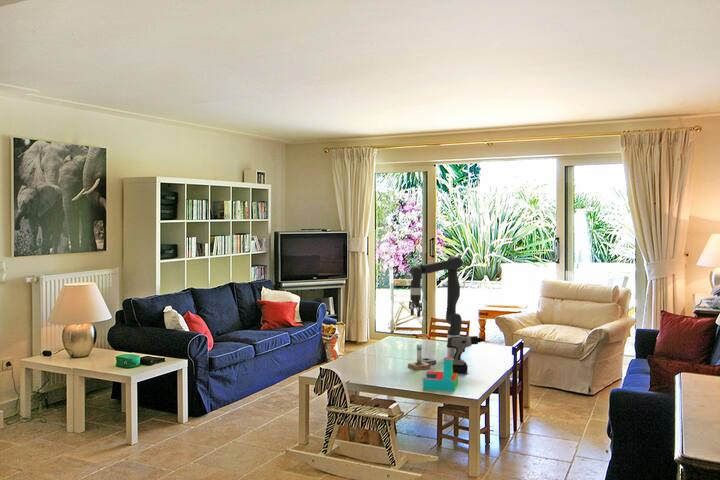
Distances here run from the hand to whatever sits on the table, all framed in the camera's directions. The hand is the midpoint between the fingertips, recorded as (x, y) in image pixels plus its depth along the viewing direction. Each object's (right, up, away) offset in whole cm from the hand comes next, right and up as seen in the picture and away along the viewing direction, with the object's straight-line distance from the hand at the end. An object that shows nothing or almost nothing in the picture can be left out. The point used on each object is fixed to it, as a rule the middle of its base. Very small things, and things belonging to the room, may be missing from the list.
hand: (415, 316), depth 445 cm
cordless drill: (+30, -34, -35) cm, 57 cm away
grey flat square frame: (+7, -33, -9) cm, 34 cm away
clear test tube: (+1, -33, -22) cm, 40 cm away
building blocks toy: (+10, -35, -65) cm, 75 cm away
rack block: (+1, -33, -22) cm, 40 cm away
